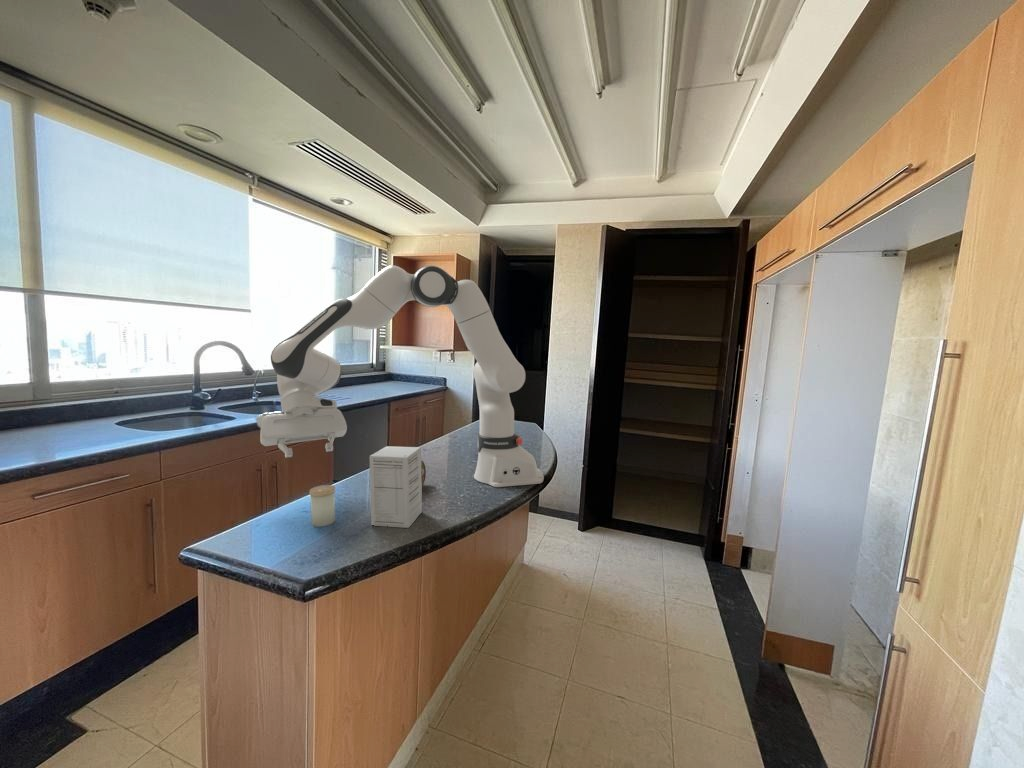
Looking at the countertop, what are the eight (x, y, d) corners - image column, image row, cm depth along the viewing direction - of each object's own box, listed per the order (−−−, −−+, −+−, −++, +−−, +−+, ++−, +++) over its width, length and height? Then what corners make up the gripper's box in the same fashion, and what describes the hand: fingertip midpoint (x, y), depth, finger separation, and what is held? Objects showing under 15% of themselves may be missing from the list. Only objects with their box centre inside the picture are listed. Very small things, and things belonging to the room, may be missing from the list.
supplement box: (423, 511, 96) (422, 446, 94) (409, 528, 87) (408, 457, 85) (387, 509, 97) (386, 445, 96) (369, 525, 88) (368, 455, 86)
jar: (339, 516, 93) (338, 484, 92) (330, 526, 87) (329, 493, 86) (316, 516, 92) (315, 485, 91) (306, 527, 87) (305, 493, 86)
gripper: (256, 406, 95) (262, 453, 89) (341, 400, 108) (353, 440, 102) (255, 421, 99) (261, 466, 93) (337, 413, 112) (348, 453, 106)
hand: (310, 453), depth 97 cm, fingers open, 8 cm apart
